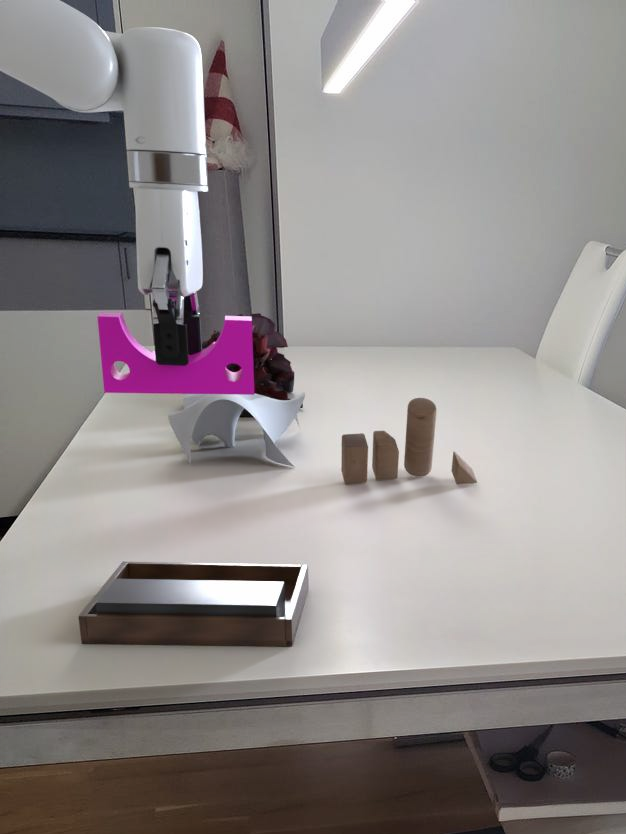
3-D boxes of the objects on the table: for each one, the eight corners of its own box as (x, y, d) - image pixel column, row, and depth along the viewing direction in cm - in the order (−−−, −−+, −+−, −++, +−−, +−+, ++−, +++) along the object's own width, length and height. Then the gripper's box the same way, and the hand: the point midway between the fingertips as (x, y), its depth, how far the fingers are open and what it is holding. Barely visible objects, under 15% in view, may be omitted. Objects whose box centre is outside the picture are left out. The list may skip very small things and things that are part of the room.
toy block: (253, 384, 114) (251, 314, 111) (254, 394, 109) (251, 320, 106) (111, 382, 111) (104, 309, 108) (104, 392, 105) (97, 316, 102)
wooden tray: (81, 643, 87) (76, 605, 86) (125, 585, 100) (121, 551, 99) (292, 646, 88) (291, 608, 87) (308, 588, 101) (307, 555, 100)
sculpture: (188, 429, 166) (184, 367, 163) (307, 430, 169) (305, 369, 165) (165, 466, 144) (159, 395, 140) (303, 467, 146) (301, 397, 142)
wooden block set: (346, 503, 138) (347, 439, 131) (336, 463, 144) (337, 401, 137) (476, 493, 143) (484, 431, 135) (461, 455, 148) (468, 394, 141)
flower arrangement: (306, 418, 178) (303, 328, 172) (187, 418, 174) (181, 326, 168) (295, 387, 206) (292, 308, 200) (192, 386, 202) (187, 306, 196)
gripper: (149, 174, 109) (161, 347, 116) (106, 169, 93) (123, 370, 100) (221, 177, 110) (228, 350, 117) (190, 174, 94) (201, 373, 101)
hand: (179, 358), depth 109 cm, fingers closed on toy block, 6 cm apart
